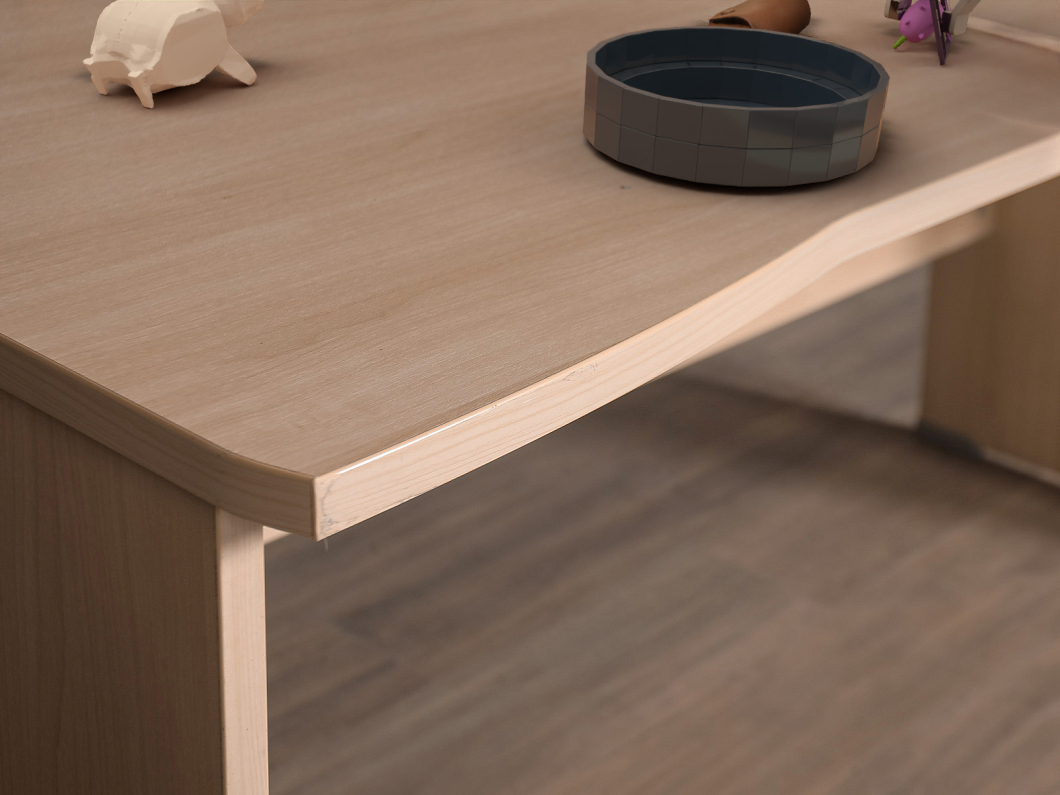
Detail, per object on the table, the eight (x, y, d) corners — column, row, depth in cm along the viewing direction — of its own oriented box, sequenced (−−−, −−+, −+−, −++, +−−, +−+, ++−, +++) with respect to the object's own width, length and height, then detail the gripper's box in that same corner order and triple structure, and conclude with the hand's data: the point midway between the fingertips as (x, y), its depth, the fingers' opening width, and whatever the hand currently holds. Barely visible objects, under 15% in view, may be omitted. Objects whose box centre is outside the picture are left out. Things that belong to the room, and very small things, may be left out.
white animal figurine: (181, 148, 91) (309, 35, 98) (132, 49, 84) (272, -64, 91) (105, 124, 95) (233, 17, 102) (53, 28, 88) (193, -79, 95)
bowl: (936, 156, 85) (952, 76, 82) (728, 220, 74) (739, 131, 71) (725, 83, 98) (733, 13, 95) (523, 128, 87) (525, 51, 84)
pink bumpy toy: (940, -17, 101) (948, -37, 108) (876, -2, 103) (888, -22, 111) (953, 63, 104) (960, 38, 111) (890, 76, 106) (901, 51, 113)
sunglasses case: (718, 17, 115) (762, -43, 111) (777, 64, 115) (823, 6, 111) (661, 65, 100) (708, -2, 96) (728, 119, 100) (779, 54, 96)
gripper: (1092, -133, 95) (1049, 47, 102) (880, -162, 109) (855, -2, 116) (1046, -128, 92) (1005, 58, 99) (833, -158, 105) (811, 6, 113)
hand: (923, 25), depth 107 cm, fingers closed on pink bumpy toy, 4 cm apart
